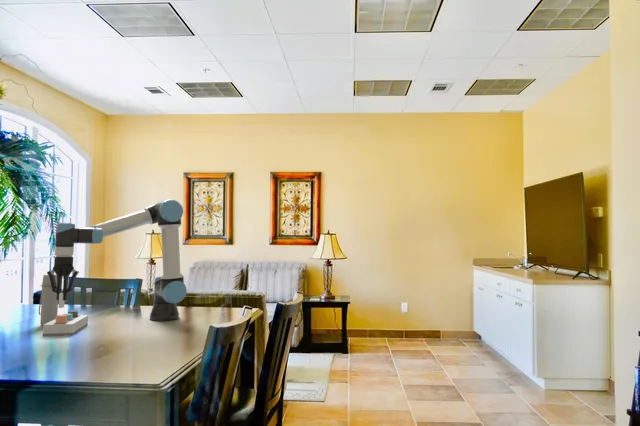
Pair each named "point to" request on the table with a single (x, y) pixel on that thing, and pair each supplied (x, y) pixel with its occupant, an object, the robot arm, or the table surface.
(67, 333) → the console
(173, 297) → the robot arm
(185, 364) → the table surface
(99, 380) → the table surface
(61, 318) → the button terracotta
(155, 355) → the table surface
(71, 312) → the button charcoal
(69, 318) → the button teal
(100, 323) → the table surface
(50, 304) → the water bottle
